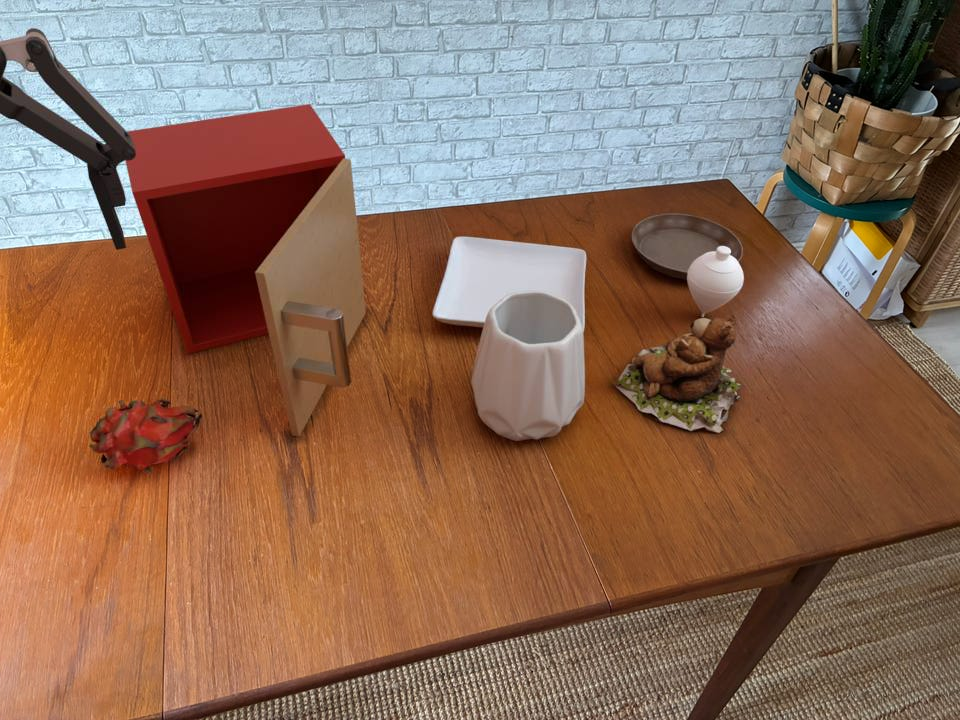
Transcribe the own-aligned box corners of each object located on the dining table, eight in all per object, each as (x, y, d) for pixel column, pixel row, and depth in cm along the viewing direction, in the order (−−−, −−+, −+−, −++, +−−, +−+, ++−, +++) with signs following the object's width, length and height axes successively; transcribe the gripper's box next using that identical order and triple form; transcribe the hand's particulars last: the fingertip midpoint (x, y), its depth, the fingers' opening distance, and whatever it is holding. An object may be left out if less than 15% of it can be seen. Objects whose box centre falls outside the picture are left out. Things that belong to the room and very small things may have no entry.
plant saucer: (621, 225, 122) (624, 210, 120) (722, 228, 122) (727, 213, 120) (638, 287, 109) (641, 271, 107) (751, 290, 109) (757, 274, 107)
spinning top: (712, 297, 108) (734, 230, 100) (738, 329, 102) (764, 260, 94) (667, 305, 106) (685, 237, 98) (692, 337, 101) (713, 268, 93)
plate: (584, 264, 113) (587, 246, 111) (581, 352, 98) (584, 333, 95) (453, 251, 114) (453, 233, 112) (430, 336, 99) (430, 317, 97)
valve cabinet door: (408, 319, 101) (401, 166, 85) (350, 447, 84) (326, 283, 67) (359, 311, 102) (343, 158, 86) (291, 435, 85) (254, 272, 68)
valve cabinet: (361, 310, 103) (345, 154, 86) (187, 354, 95) (132, 192, 78) (329, 252, 113) (310, 103, 96) (170, 287, 105) (119, 132, 88)
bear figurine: (642, 340, 100) (660, 270, 91) (747, 381, 94) (776, 311, 86) (603, 399, 91) (619, 327, 83) (716, 447, 86) (745, 376, 77)
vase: (509, 356, 96) (516, 265, 86) (600, 400, 91) (620, 309, 80) (447, 416, 88) (447, 323, 78) (543, 470, 82) (557, 377, 72)
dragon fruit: (97, 476, 81) (206, 452, 87) (94, 492, 74) (214, 465, 79) (82, 404, 80) (194, 385, 86) (78, 413, 73) (201, 391, 78)
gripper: (105, -68, 48) (184, 205, 63) (-370, -39, 40) (-153, 268, 54) (115, -40, 43) (198, 249, 58) (-425, -1, 35) (-171, 326, 49)
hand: (28, 259), depth 56 cm, fingers open, 13 cm apart
